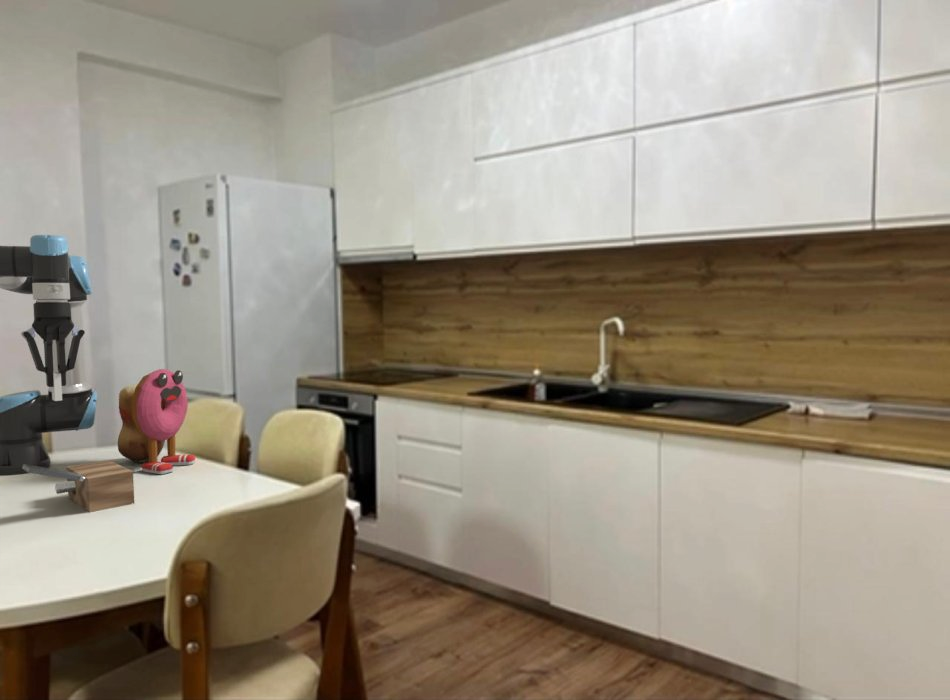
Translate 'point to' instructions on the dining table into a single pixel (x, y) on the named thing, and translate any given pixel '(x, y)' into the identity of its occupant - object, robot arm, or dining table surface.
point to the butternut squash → (132, 431)
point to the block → (102, 486)
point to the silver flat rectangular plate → (53, 472)
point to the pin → (65, 487)
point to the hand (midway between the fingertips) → (57, 400)
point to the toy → (161, 417)
